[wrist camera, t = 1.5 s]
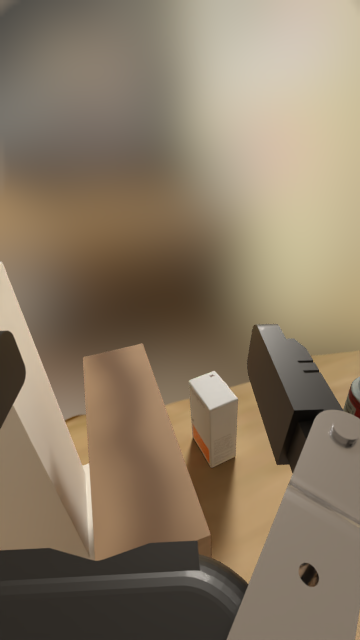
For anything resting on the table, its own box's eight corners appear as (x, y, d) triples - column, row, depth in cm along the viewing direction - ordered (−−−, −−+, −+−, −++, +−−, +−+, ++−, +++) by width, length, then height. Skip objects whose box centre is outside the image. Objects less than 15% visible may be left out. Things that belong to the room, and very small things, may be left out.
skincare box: (191, 437, 47) (187, 379, 41) (215, 426, 49) (215, 369, 42) (210, 470, 42) (209, 410, 36) (236, 457, 44) (239, 398, 38)
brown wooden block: (163, 470, 43) (142, 343, 31) (214, 651, 28) (210, 534, 16) (120, 484, 42) (82, 357, 30) (150, 682, 26) (96, 579, 15)
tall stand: (96, 468, 44) (20, 253, 27) (105, 574, 33) (-13, 327, 16) (30, 489, 42) (-97, 271, 25) (16, 609, 31) (-221, 369, 14)
